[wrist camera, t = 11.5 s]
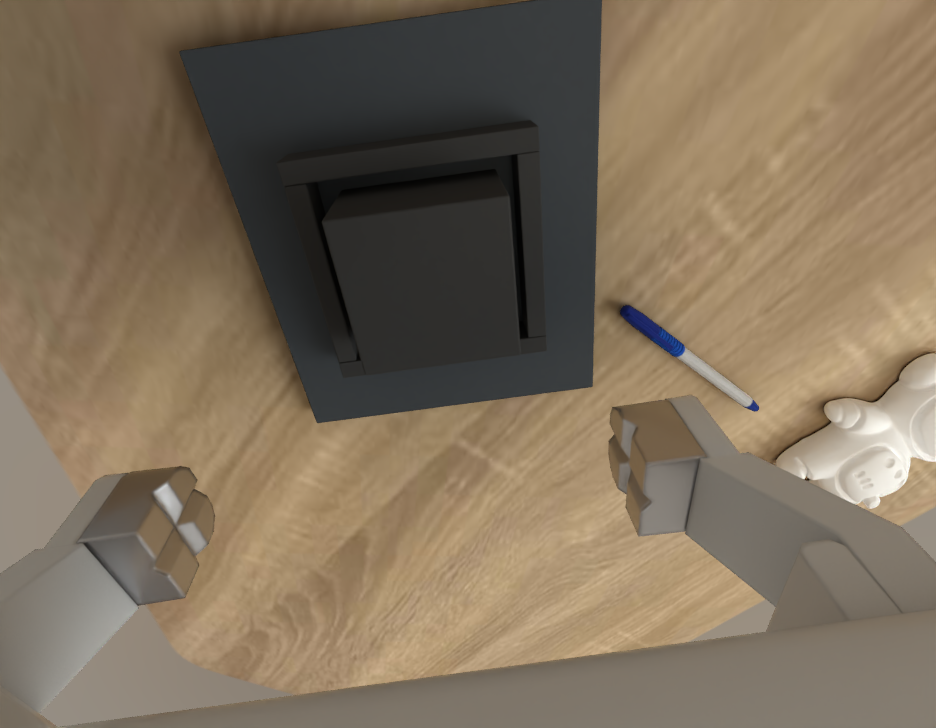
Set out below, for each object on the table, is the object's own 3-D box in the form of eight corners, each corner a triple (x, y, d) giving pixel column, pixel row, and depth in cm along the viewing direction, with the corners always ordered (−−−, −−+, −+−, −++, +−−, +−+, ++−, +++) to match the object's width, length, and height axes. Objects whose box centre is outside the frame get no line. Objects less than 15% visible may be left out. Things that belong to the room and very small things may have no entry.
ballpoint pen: (612, 313, 24) (618, 324, 23) (625, 299, 23) (632, 309, 22) (748, 407, 27) (758, 419, 26) (761, 396, 27) (772, 408, 26)
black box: (375, 326, 22) (364, 376, 19) (340, 189, 19) (320, 221, 16) (507, 308, 22) (521, 356, 19) (496, 168, 19) (509, 195, 15)
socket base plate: (320, 411, 26) (310, 445, 24) (190, 50, 17) (155, 51, 15) (587, 376, 26) (601, 407, 23) (594, -8, 17) (618, -15, 15)
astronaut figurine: (756, 432, 28) (788, 470, 26) (985, 322, 25) (1047, 353, 23) (795, 512, 33) (825, 552, 30) (996, 427, 29) (1049, 463, 27)
